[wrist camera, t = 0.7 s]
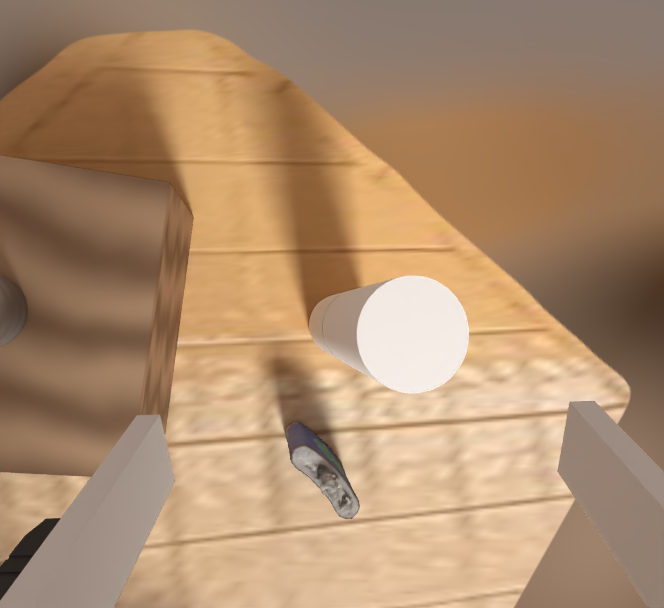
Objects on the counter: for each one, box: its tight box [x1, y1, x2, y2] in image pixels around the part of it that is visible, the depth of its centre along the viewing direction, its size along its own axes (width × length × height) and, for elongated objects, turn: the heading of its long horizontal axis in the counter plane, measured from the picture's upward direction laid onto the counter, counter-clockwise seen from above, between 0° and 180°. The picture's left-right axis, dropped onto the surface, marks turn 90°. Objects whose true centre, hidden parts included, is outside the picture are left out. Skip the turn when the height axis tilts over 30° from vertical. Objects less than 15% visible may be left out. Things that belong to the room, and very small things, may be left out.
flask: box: [285, 422, 360, 519], centre depth 45 cm, size 9×3×11 cm, turn 41°
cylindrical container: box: [309, 276, 469, 393], centre depth 38 cm, size 7×7×25 cm
